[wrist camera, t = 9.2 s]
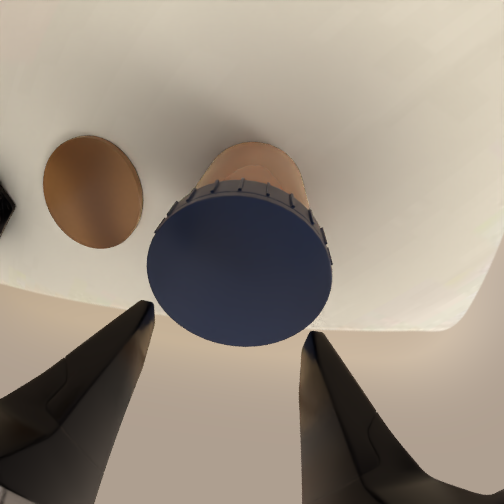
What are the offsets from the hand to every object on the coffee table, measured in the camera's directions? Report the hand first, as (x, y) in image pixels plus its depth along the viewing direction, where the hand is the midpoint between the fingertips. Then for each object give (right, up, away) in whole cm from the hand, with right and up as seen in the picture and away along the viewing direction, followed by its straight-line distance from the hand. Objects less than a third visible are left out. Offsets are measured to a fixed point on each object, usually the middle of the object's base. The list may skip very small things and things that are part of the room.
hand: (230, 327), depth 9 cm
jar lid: (0, +1, +2) cm, 2 cm away
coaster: (-11, +7, +11) cm, 17 cm away
